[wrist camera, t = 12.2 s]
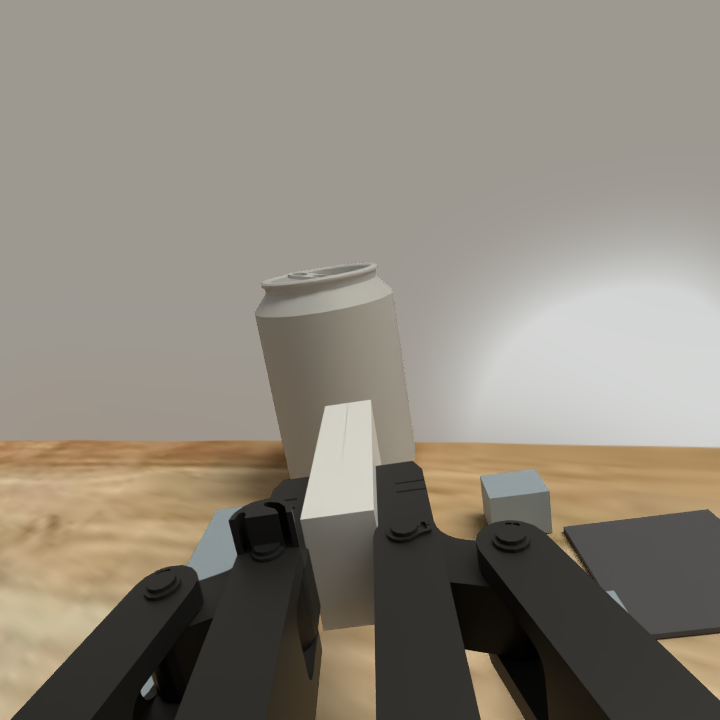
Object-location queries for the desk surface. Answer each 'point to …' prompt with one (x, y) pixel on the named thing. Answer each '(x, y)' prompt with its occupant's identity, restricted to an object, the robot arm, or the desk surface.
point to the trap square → (658, 569)
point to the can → (334, 357)
